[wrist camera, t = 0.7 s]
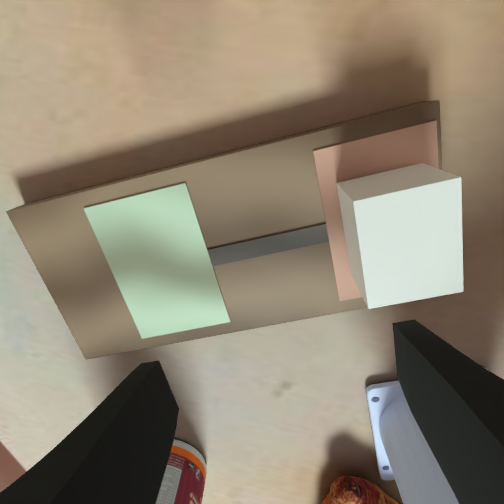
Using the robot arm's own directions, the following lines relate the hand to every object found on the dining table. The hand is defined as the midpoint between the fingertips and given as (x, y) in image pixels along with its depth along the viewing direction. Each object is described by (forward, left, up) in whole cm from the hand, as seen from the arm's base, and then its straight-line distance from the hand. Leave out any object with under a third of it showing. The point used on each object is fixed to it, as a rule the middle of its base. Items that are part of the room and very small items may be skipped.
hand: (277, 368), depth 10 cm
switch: (+1, +2, -10) cm, 10 cm away
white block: (+1, -6, -8) cm, 10 cm away
